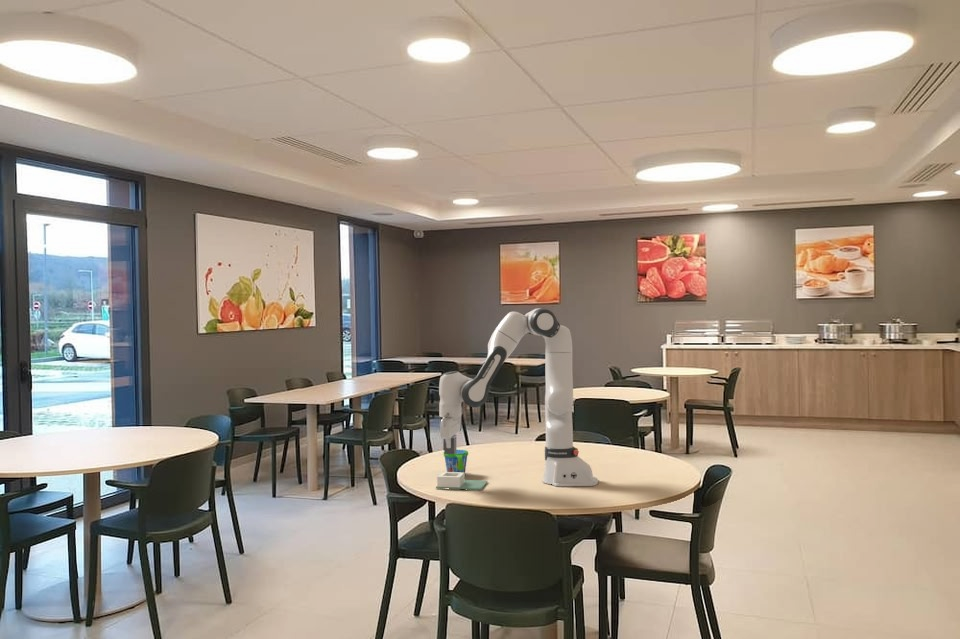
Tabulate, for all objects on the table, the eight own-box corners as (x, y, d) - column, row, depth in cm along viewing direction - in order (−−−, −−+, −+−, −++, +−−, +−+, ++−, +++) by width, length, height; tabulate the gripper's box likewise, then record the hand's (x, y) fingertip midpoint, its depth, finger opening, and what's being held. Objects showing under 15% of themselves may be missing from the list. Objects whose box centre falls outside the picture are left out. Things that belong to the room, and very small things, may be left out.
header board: (487, 482, 278) (487, 470, 278) (480, 490, 264) (480, 478, 264) (444, 481, 282) (444, 469, 282) (435, 489, 268) (435, 476, 268)
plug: (456, 452, 273) (456, 435, 274) (454, 454, 270) (454, 436, 270) (445, 452, 274) (445, 434, 274) (442, 453, 270) (442, 436, 271)
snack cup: (441, 472, 300) (441, 448, 300) (465, 470, 302) (464, 447, 302) (446, 479, 284) (446, 455, 284) (471, 478, 286) (471, 454, 286)
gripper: (451, 415, 261) (452, 451, 261) (463, 409, 281) (463, 442, 281) (435, 415, 263) (436, 451, 262) (448, 409, 283) (449, 442, 282)
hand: (450, 446), depth 272 cm, fingers closed on plug, 4 cm apart
